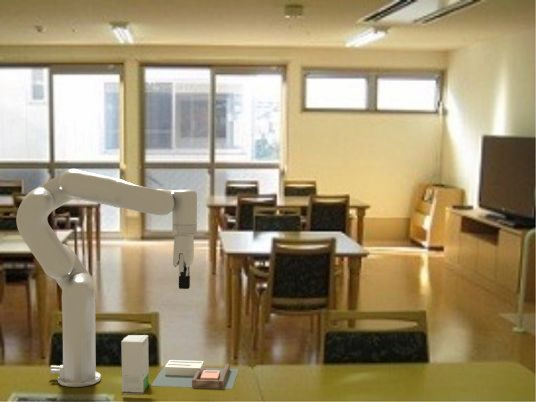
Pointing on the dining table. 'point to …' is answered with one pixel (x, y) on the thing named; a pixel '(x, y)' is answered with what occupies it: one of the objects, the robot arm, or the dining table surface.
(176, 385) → the mat
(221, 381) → the tray
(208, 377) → the pink block
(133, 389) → the skincare box
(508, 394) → the dining table surface
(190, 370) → the flat white box
